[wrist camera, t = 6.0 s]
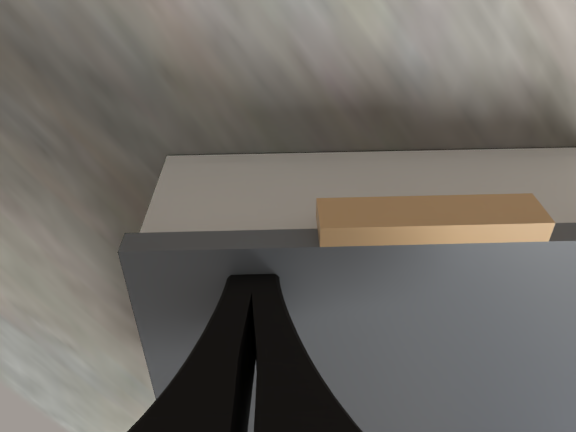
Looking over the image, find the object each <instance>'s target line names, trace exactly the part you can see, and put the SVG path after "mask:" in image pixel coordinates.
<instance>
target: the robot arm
mask: <svg viewBox="0 0 576 432" xmlns="http://www.w3.org/2000/svg"><path fill="white" fill-rule="evenodd" d="M255 363H256V370H257V376H256V398H255V418H254V432H363V431H362V430H361V429H360V428H359V427H358V426H357V424H356V423H355V422H354V421H353V419H352V418H351V417H350V416H349V414H348V413H347V412H346V410H345V409H344V408H343V407H342V405H341V404H340V403H339V401H338V400H337V399H336V397H335V396H334V395H333V393H332V392H331V390H330V389H329V387H328V386H327V384H326V383H325V381H324V380H323V378H322V377H321V375H320V373H319V372H318V370H317V369H316V367H315V365H314V363H313V362H312V360H311V358H310V356H309V355H308V353H307V351H306V349H305V347H304V345H303V343H302V341H301V339H300V337H299V335H298V333H297V331H296V328H295V326H294V324H293V322H292V319H291V317H290V315H289V312H288V309H287V306H286V304H285V301H284V298H283V294H282V290H281V286H280V280H279V276H277V275H276V274H244V275H230V276H229V277H228V278H227V280H226V284H225V287H224V289H223V292H222V294H221V297H220V299H219V301H218V304H217V306H216V308H215V310H214V312H213V314H212V316H211V318H210V320H209V322H208V324H207V326H206V327H205V329H204V331H203V333H202V335H201V336H200V338H199V340H198V341H197V343H196V345H195V346H194V348H193V350H192V351H191V353H190V354H189V356H188V358H187V359H186V361H185V362H184V364H183V365H182V367H181V368H180V369H179V371H178V372H177V374H176V375H175V376H174V378H173V379H172V380H171V382H170V383H169V384H168V386H167V387H166V388H165V390H164V391H163V392H162V393H161V394H160V396H159V397H158V398H157V399H156V401H155V402H154V403H153V404H152V405H151V407H150V408H149V409H148V410H147V411H146V412H145V414H144V415H143V416H142V417H141V418H140V419H139V420H138V421H137V422H136V423H135V424H134V425H133V426H132V427H131V428H130V429H129V430H128V431H127V432H248V424H249V415H250V406H251V398H252V389H253V381H254V372H255Z"/></svg>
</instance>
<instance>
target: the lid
mask: <svg viewBox="0 0 576 432" xmlns="http://www.w3.org/2000/svg"><path fill="white" fill-rule="evenodd" d="M316 222H317V229H278V230H236V231H193V232H150V233H125V235H124V237H123V240H122V242H121V245H120V248H119V250H118V255H119V258H120V262H121V266H122V270H123V274H124V278H125V282H126V285H127V289H128V293H129V297H130V301H131V305H132V309H133V313H134V316H135V320H136V324H137V328H138V332H139V336H140V340H141V343H142V347H143V351H144V355H145V359H146V363H147V367H148V370H149V374H150V378H151V382H152V386H153V390H154V394H155V398H156V399H157V398H158V397H159V396H160V394H161V393H162V392H163V391H164V390H165V388H166V387H167V386H168V384H169V383H170V382H171V380H172V379H173V378H174V376H175V375H176V374H177V372H178V371H179V369H180V368H181V367H182V365H183V364H184V362H185V361H186V359H187V358H188V356H189V354H190V353H191V351H192V350H193V348H194V346H195V345H196V343H197V341H198V340H199V338H200V336H201V335H202V333H203V331H204V329H205V327H206V326H207V324H208V322H209V320H210V318H211V316H212V314H213V312H214V310H215V308H216V306H217V304H218V301H219V299H220V297H221V294H222V292H223V289H224V287H225V284H226V280H227V278H228V277H229V276H230V275H244V274H276V275H277V276H279V280H280V286H281V290H282V294H283V298H284V301H285V304H286V306H287V309H288V312H289V315H290V317H291V319H292V322H293V324H294V326H295V328H296V331H297V333H298V335H299V337H300V339H301V341H302V343H303V345H304V347H305V349H306V351H307V353H308V355H309V356H310V358H311V360H312V362H313V363H314V365H315V367H316V369H317V370H318V372H319V373H320V375H321V377H322V378H323V380H324V381H325V383H326V384H327V386H328V387H329V389H330V390H331V392H332V393H333V395H334V396H335V397H336V399H337V400H338V401H339V403H340V404H341V405H342V407H343V408H344V409H345V410H346V412H347V413H348V414H349V416H350V417H351V418H352V419H353V421H354V422H355V423H356V424H357V426H358V427H359V428H360V429H361V430H362V431H363V432H576V223H555V222H554V220H553V219H552V218H551V216H550V215H549V214H548V213H547V211H546V210H545V209H544V208H543V206H542V205H541V204H540V202H539V201H538V200H537V199H536V197H535V196H534V195H533V194H532V193H522V194H476V195H431V196H386V197H341V198H316ZM256 376H257V370H256V363H255V372H254V381H253V389H252V398H251V406H250V415H249V424H248V432H254V418H255V398H256Z"/></svg>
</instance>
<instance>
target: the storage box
mask: <svg viewBox="0 0 576 432" xmlns="http://www.w3.org/2000/svg"><path fill="white" fill-rule="evenodd" d="M522 193H532V194H533V195H534V196H535V197H536V199H537V200H538V201H539V202H540V204H541V205H542V206H543V208H544V209H545V210H546V211H547V213H548V214H549V215H550V216H551V218H552V219H553V220H554V222H555V223H576V147H573V148H523V149H474V150H425V151H375V152H326V153H276V154H227V155H178V156H167V157H166V160H165V163H164V166H163V168H162V171H161V174H160V177H159V179H158V182H157V185H156V188H155V191H154V193H153V196H152V199H151V202H150V205H149V207H148V210H147V213H146V216H145V219H144V221H143V224H142V227H141V230H140V232H139V233H150V232H193V231H236V230H278V229H317V222H316V198H341V197H386V196H431V195H476V194H522Z"/></svg>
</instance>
